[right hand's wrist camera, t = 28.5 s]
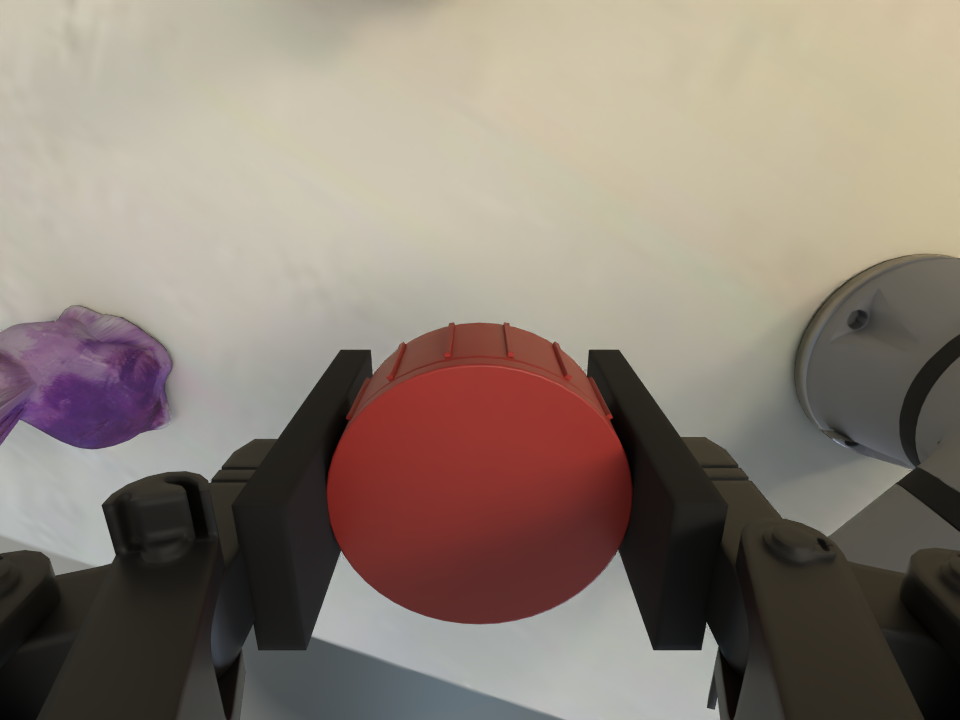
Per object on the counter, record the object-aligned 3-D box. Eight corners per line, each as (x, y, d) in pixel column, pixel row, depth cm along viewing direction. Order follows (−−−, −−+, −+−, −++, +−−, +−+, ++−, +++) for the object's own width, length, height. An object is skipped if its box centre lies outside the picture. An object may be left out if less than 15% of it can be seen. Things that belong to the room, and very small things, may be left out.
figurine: (23, 299, 40) (-228, 378, 26) (164, 302, 40) (-8, 382, 26) (55, 417, 43) (-150, 544, 29) (186, 419, 43) (44, 547, 29)
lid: (616, 319, 11) (651, 361, 9) (597, 545, 13) (621, 626, 11) (341, 320, 11) (307, 362, 9) (362, 545, 13) (338, 626, 11)
